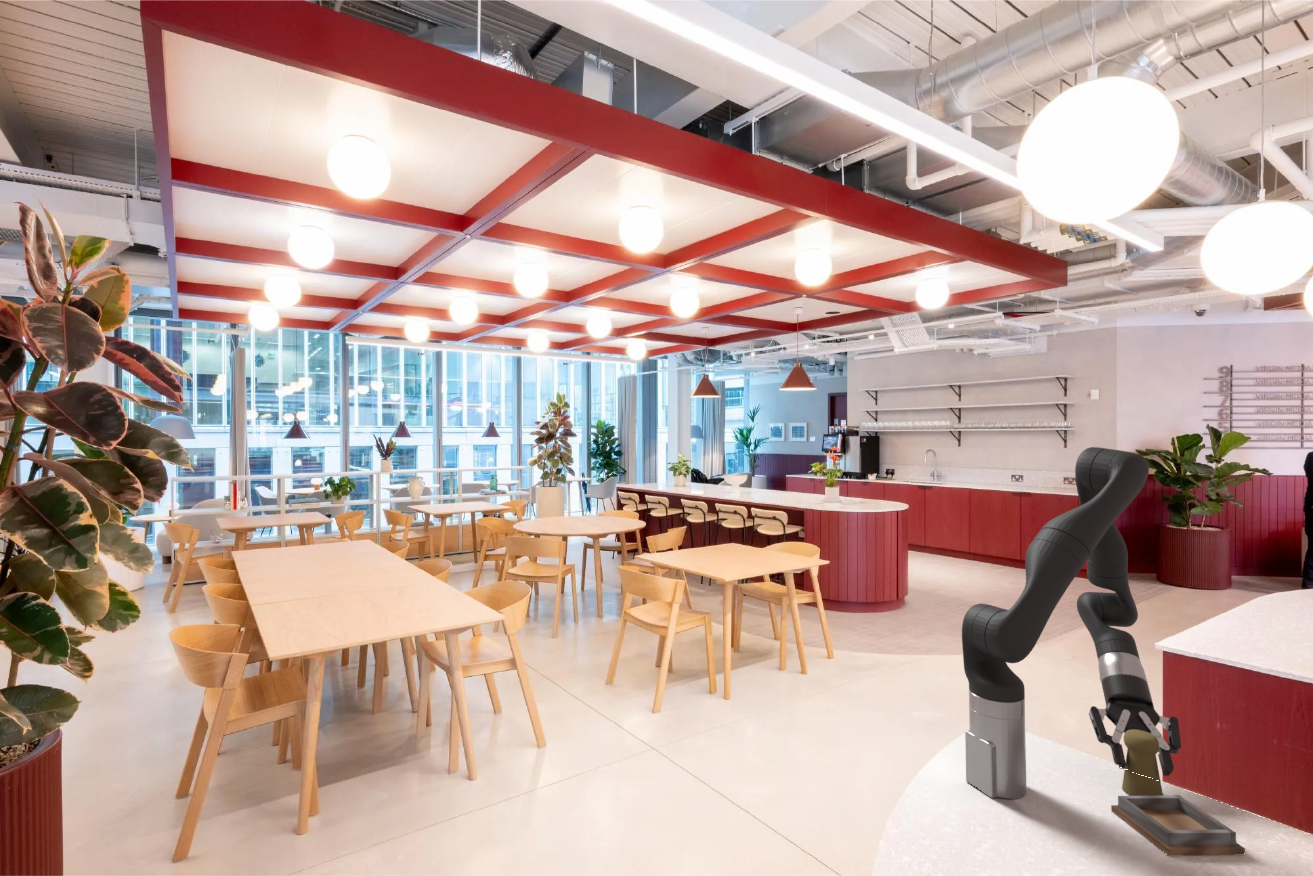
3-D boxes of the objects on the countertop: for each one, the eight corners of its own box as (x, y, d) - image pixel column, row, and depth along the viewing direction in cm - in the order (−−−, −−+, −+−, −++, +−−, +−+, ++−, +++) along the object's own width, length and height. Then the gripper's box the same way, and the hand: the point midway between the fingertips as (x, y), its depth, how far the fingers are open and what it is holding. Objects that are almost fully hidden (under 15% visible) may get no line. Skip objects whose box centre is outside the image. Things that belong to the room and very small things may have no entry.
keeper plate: (1167, 855, 97) (1167, 836, 97) (1111, 811, 109) (1111, 793, 109) (1245, 854, 97) (1244, 835, 97) (1180, 810, 109) (1179, 793, 109)
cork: (1171, 804, 111) (1169, 741, 112) (1132, 800, 113) (1131, 738, 113) (1151, 786, 117) (1150, 726, 118) (1115, 783, 119) (1114, 724, 119)
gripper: (1083, 668, 125) (1100, 755, 114) (1173, 677, 119) (1200, 770, 108) (1078, 685, 130) (1094, 771, 119) (1164, 695, 124) (1189, 786, 113)
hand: (1144, 770), depth 114 cm, fingers open, 6 cm apart
